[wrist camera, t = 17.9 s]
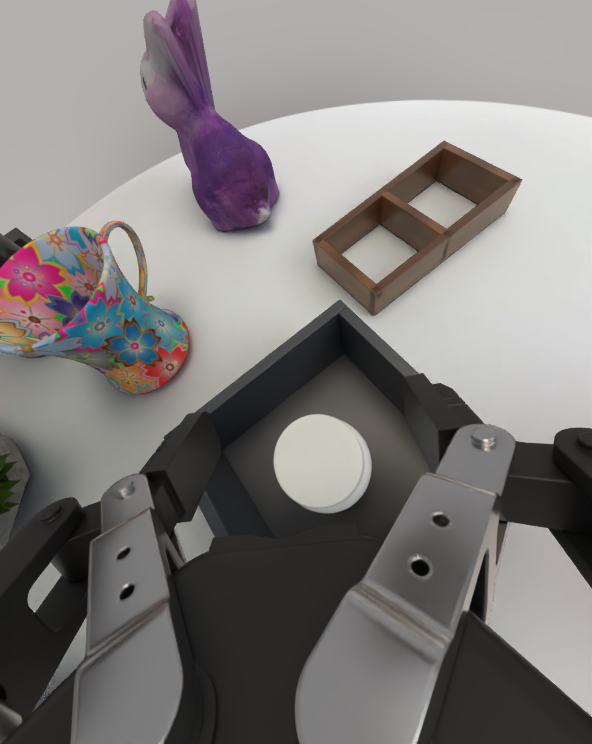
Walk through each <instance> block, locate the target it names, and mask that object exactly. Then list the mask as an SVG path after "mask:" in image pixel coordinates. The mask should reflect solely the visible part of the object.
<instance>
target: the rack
mask: <svg viewBox="0 0 592 744" xmlns="http://www.w3.org/2000/svg"><path fill="white" fill-rule="evenodd" d="M436 180H437V181H438V182H440V183H442V184H444V185H445V186H447V187H449V188H451V189H452V190H454V191H456V192H458V193H459V194H461V195H463V196H465V197H466V198H468V199H470V200H472V201H473V202H475V203H477V204H478V205H477V206H476V207H475V208H473V209H472V210H471V211H470V212H468V213H467V214H466V215H464V216H463V217H462V218H461V219H459V220H458V221H457V222H455V223H454V224H453V225H452V226H450V227H449V228H448V229H446V228H444V227H443V226H441V225H440V224H438V223H436V222H435V221H433V220H432V219H430V218H429V217H427V216H426V215H424V214H422V213H421V212H419V211H418V210H416V209H415V208H413V207H412V206H410V205H409V204H407V203H408V202H409V201H410V200H411V199H413V198H414V197H415V196H417V195H418V194H419V193H421V192H422V191H423V190H425V189H426V188H427V187H428V186H430V185H431V184H432V183H434V182H435V181H436ZM521 182H522V179H520V178H518V177H516V176H514V175H512V174H510V173H508V172H506V171H504V170H502V169H500V168H498V167H496V166H494V165H492V164H490V163H488V162H486V161H484V160H482V159H480V158H478V157H476V156H474V155H472V154H470V153H468V152H466V151H464V150H462V149H460V148H458V147H456V146H454V145H452V144H450V143H448V142H446V141H443V142H441V143H440V144H439V145H438V146H436V147H435V148H434V149H432V150H431V151H430V152H428V153H427V154H426V155H425V156H423V157H422V158H421V159H419V160H418V161H417V162H415V163H414V164H413V165H411V166H410V167H409V168H407V169H406V170H405V171H403V172H402V173H401V174H399V175H398V176H397V177H396V178H394V179H393V180H392V181H390V182H389V183H388V184H386V185H385V186H384V187H382V188H381V189H380V190H378V191H377V192H376V193H374V194H373V195H372V196H371V197H369V198H368V199H367V200H365V201H364V202H363V203H361V204H360V205H359V206H357V207H356V208H355V209H353V210H352V211H351V212H349V213H348V214H347V215H345V216H344V217H343V218H342V219H340V220H339V221H338V222H336V223H335V224H334V225H332V226H331V227H330V228H328V229H327V230H326V231H324V232H323V233H322V234H320V235H319V236H318V237H316V238H315V239H314V240H313V245H314V250H315V255H316V259H317V264H318V265H319V266H320V267H321V268H322V269H323V270H324V271H325V272H326V273H328V274H329V275H330V276H331V277H332V278H333V279H334V280H335V281H336V282H338V283H339V284H340V285H341V286H342V287H343V288H344V289H345V290H346V291H347V292H349V293H350V294H351V295H352V296H353V297H354V298H355V299H356V300H357V301H358V302H360V303H361V304H362V305H363V306H364V307H365V308H366V309H367V310H368V311H370V312H371V313H372V314H373V315H374V316H375V315H376V314H377V313H379V312H380V311H381V310H382V309H384V308H385V307H386V306H387V305H389V304H390V303H391V302H392V301H394V300H395V299H396V298H398V297H399V296H400V295H401V294H403V293H404V292H405V291H406V290H408V289H409V288H410V287H411V286H413V285H414V284H415V283H416V282H418V281H419V280H420V279H422V278H423V277H424V276H425V275H427V274H428V273H429V272H430V271H432V270H433V269H434V268H435V267H437V266H438V265H439V264H440V263H442V262H443V261H444V260H446V259H447V258H448V257H449V256H451V255H452V254H453V253H454V252H456V251H457V250H458V249H459V248H461V247H462V246H463V245H465V244H466V243H467V242H468V241H470V240H471V239H472V238H473V237H475V236H476V235H477V234H478V233H480V232H481V231H482V230H483V229H485V228H486V227H487V226H489V225H490V224H491V223H492V222H494V221H495V220H496V219H497V218H499V217H500V216H501V215H503V214H504V213H505V212H506V211H507V209H508V207H509V205H510V203H511V201H512V199H513V197H514V195H515V193H516V191H517V189H518V187H519V185H520V183H521ZM379 224H381V225H383V226H384V227H386V228H387V229H388V230H390V231H391V232H392V233H394V234H395V235H397V236H398V237H399V238H401V239H402V240H404V241H405V242H406V243H408V244H409V245H411V246H412V247H413V248H415V249H416V250H418V252H417V253H416V254H415V255H413V256H412V257H411V258H410V259H408V260H407V261H406V262H404V263H403V264H402V265H401V266H399V267H398V268H397V269H395V270H394V271H393V272H392V273H390V274H389V275H388V276H387V277H385V278H384V279H383V280H381V281H380V282H379V283H378V284H376V283H374V282H373V281H372V280H371V279H370V278H368V277H367V276H366V275H365V274H364V273H362V272H361V271H360V270H359V269H358V268H356V267H355V266H354V265H353V264H352V263H351V262H349V261H348V260H347V259H346V258H345V257H343V256H342V255H341V253H342V252H344V251H345V250H346V249H348V248H349V247H350V246H352V245H353V244H354V243H356V242H357V241H358V240H359V239H361V238H362V237H363V236H365V235H366V234H367V233H369V232H370V231H371V230H372V229H374V228H375V227H376V226H378V225H379Z"/></svg>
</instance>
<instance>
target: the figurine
mask: <svg viewBox="0 0 592 744" xmlns="http://www.w3.org/2000/svg"><path fill="white" fill-rule="evenodd" d="M143 21H144V35H145V41H146V52H145V53H144V55H143V57H142V60H141V66H140V75H141V84H142V88H143V91H144V94H145V98H146V101H147V102H148V104H149V106H150V108H151V109H152V110H153V112H154V113H155V114H156V115H157V117H159V119H161V120H162V121H163V122H165V123H166V124H167V125H168V126H170V127H172V128H173V129H175V130H176V132H177V134H178V137H179V141H180V147H181V151H182V154H183V157H184V161H185V163H186V165H187V167H188V168H189V170H190V172H191V177H192V189H193V193H194V196H195V198H196V200H197V202H198V204H199V206H200V208H201V209H202V210H203V212H204V213H205V214H206V215H207V216H208V217H209V219H210V220H211V221H212V223H213V225H214V226H215V227H216V228H217V229H218V230H221V231H231V230H232V229H240V228H247V227H252V226H255V225H259V224H261V223H263V222H264V221H266V220H267V219H268V218H269V216H270V214H271V210H270V208H271V206H272V205H273V204H274V202H275V201H276V200H277V198H278V196H279V190H278V187H277V184H276V181H275V177H274V172H273V167H272V163H271V161H270V158H269V156H268V155H267V153H266V151H265V150H264V149H263V148H262V146H261V145H259V144H258V143H257V142H255V141H253V140H251V139H249V138H247V137H245V136H244V135H242V134H241V133H240V132H239V131H238V130H237V129H236V128H235V127H233V126H232V125H231V124H230V123H228V122H227V121H226V120H224V119H223V118H222V117H221V116H220V115H219V114H218V113H217V112H216V111H215V107H214V101H213V95H212V90H211V84H210V78H209V73H208V67H207V61H206V56H205V50H204V44H203V38H202V33H201V27H200V22H199V15H198V10H197V4H196V0H170V2H169V6H168V10H167V13H166V16H165V18H163V16H162V15H161V14H159V13H158V12H157V11H150V12H149V13H147V14H146V15H145V16H144V20H143Z"/></svg>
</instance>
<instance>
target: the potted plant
mask: <svg viewBox="0 0 592 744" xmlns="http://www.w3.org/2000/svg"><path fill="white" fill-rule="evenodd" d="M30 476H31V474H30V472H29V470H28V468H27V466H26V464H25V462H24V460H23V458H22V456H21V453H20V451H19V449H18V448H17V447H16V445H15V444H14V443H13V442H12V441H11V440H10V439H9V438H8V437H6V436H4V435H2V434H0V550H1V549H2V548H3V547H4V546H5V545H6V544H7V543H8V540H9V537H10V533H11V530H12V527H13V524H14V520H15V517H16V514H17V511H18V508H19V504H20V501H21V498H22V495H23V492H24V488H25V485H26V483H27V481H28V480H29V478H30Z"/></svg>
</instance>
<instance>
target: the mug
mask: <svg viewBox="0 0 592 744" xmlns="http://www.w3.org/2000/svg"><path fill="white" fill-rule="evenodd" d="M116 227H121V228H122V229H124V230H125V231H126V233H127V234H128V236H129V237H130V239H131V241H132V243H133V246H134V249H135V252H136V256H137V260H138V266H139V291H138V293H137V292H136V291H135V290H134V289H133V288H132V286H131V285H130V284H129V283H128V281H127V280H126V278H125V277H124V275H123V274H122V272H121V270H120V269H119V267H118V265H117V263H116V261H115V259H114V257H113V254H112V252H111V249H110V247H109V245H108V243H107V241H108V237H109V234H110V232H111V231H112V230H113V229H114V228H116ZM146 293H147V265H146V259H145V255H144V251H143V248H142V245H141V243H140V240H139V238H138V236H137V235H136V233H135V231H134V230H133V229H132V228H131V227H130V226H129V225H128V224H126V223H124V222H121V221H111V222H108V223H107V224H105V225H104V226H103V227H102V229H101V230H100V232H99V234H98V233H97V232H95V231H93V230H91V229H88V228H84V227H65V228H60V229H57V230H53V231H50V232H48V233H46V234H43V235H41V236H40V237H37V238H36V239H34V240H32V241H31V242H29V243H28V244H26V245H25V246H23V247H22V248H21V249H19V250H18V251H17V252H16V253H15V254H14V255H13V256H11V257H10V258H9V259H8V260H7V261H6V263H5V264H4V265H3V266H2V267H1V268H0V351H1V352H4V353H8V354H34V355H49V356H56V357H62V358H67V359H71V360H75V361H78V362H81V363H84V364H87V365H89V366H91V367H93V368H95V369H97V370H98V371H100V372H101V373H103V374H104V375H105V376H106V377H107V379H108V381H109V382H110V383H111V384H112V385H113V386H114V387H115V388H116V389H118V390H120V391H122V392H125V393H129V394H142V393H146V392H150V391H152V390H155V389H157V388H159V387H160V386H162V385H163V384H165V383H166V382H167V381H169V380H170V379H171V378H172V377H173V376H174V375H175V374H176V372H177V371H178V370H179V368H180V367H181V365H182V364H183V362H184V360H185V357H186V354H187V351H188V345H189V334H188V330H187V327H186V325H185V323H184V322H183V320H182V319H181V318H180V317H179V316H178V315H177V314H175V313H174V312H172V311H169V310H166V309H160V308H157V307H155V306H153V305H152V304H150V303H149V302H147V301H153V300H154V297H153V296H146Z"/></svg>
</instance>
